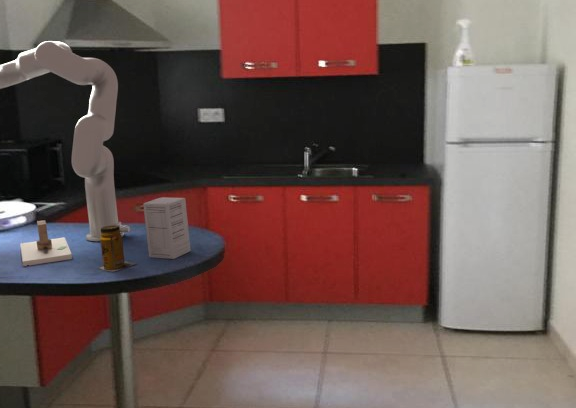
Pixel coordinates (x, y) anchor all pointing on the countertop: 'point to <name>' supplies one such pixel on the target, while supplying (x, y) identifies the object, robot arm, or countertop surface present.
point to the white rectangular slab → (38, 256)
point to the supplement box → (167, 227)
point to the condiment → (112, 249)
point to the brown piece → (43, 237)
